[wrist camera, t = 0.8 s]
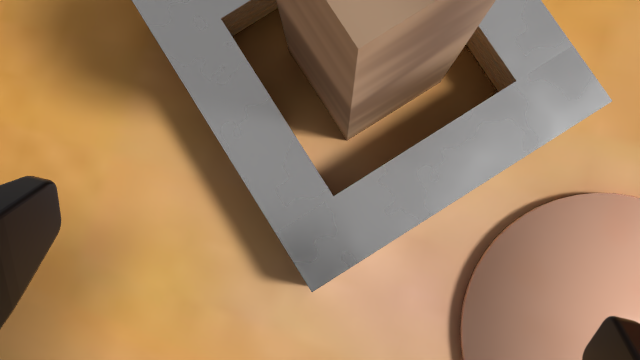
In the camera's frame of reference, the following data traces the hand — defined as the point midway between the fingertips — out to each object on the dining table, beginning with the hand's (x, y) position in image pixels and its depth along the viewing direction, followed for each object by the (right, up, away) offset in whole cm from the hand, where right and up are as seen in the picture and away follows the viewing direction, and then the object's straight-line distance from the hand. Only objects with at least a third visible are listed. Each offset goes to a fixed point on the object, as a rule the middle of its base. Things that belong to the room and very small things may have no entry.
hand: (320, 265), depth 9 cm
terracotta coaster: (+11, -5, +12) cm, 17 cm away
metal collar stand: (+2, +6, +14) cm, 15 cm away
